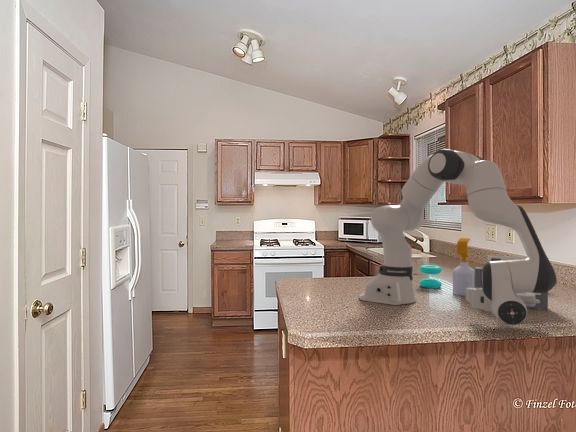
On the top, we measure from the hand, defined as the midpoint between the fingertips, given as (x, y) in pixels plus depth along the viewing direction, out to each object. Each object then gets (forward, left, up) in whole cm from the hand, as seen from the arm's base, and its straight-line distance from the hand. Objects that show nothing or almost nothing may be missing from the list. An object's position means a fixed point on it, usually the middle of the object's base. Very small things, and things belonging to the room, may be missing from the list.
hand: (496, 291), depth 128 cm
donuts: (-22, +44, -8) cm, 50 cm away
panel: (+7, +17, -8) cm, 20 cm away
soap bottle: (-8, +32, -8) cm, 34 cm away
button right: (+14, +15, -2) cm, 20 cm away
